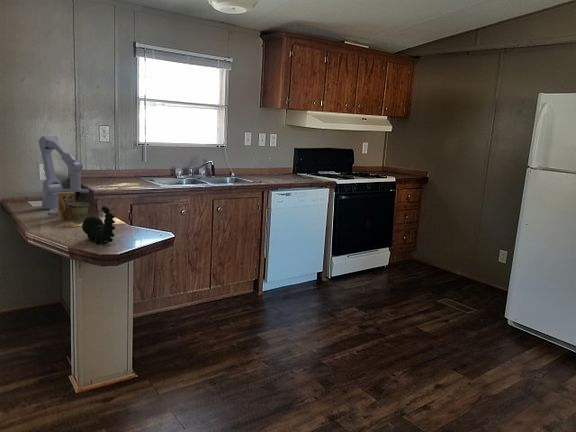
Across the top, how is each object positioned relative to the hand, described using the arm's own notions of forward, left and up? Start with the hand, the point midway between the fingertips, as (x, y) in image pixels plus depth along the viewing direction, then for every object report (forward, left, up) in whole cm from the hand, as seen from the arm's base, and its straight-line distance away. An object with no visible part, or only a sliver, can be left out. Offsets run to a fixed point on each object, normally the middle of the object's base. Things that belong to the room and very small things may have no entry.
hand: (75, 204), depth 279 cm
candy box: (+6, -20, -5) cm, 22 cm away
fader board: (-3, -2, -5) cm, 6 cm away
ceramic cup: (+15, -22, -5) cm, 27 cm away
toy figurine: (+42, -61, -5) cm, 74 cm away
